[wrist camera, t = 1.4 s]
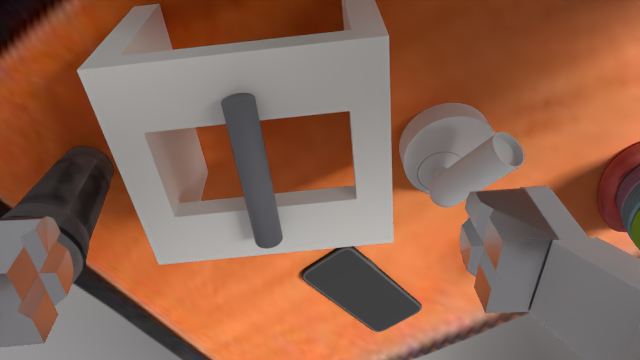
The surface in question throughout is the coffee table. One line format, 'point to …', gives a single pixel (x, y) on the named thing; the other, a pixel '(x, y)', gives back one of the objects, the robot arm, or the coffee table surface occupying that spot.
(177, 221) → the shelf
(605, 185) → the stacking bear
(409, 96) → the coffee table surface
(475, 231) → the robot arm
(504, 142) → the wall hook
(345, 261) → the smartphone
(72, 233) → the beverage cup
